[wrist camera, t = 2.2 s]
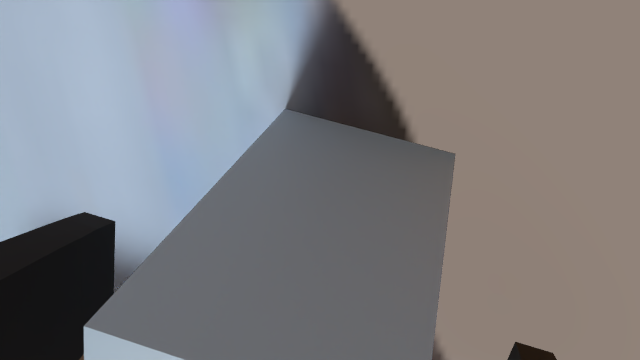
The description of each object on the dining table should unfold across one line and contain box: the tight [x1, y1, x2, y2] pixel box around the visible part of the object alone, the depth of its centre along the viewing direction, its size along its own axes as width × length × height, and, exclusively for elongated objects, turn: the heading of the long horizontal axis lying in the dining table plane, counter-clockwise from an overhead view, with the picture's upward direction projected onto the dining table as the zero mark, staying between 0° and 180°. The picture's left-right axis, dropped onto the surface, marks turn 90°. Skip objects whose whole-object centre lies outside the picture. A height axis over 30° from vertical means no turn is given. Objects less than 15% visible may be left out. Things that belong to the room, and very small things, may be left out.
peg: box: [84, 109, 455, 360], centre depth 11 cm, size 4×4×8 cm
